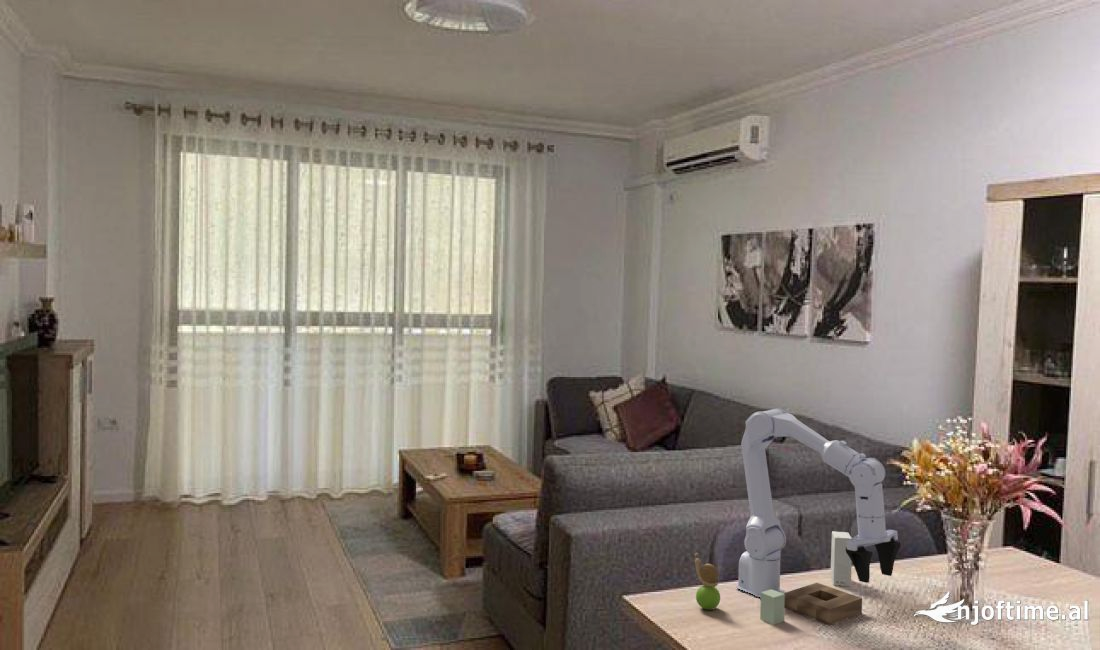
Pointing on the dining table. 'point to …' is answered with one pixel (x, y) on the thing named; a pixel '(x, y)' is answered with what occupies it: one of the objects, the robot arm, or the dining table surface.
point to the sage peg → (772, 606)
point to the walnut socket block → (823, 603)
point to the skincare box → (840, 559)
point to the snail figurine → (707, 585)
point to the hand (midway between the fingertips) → (875, 578)
